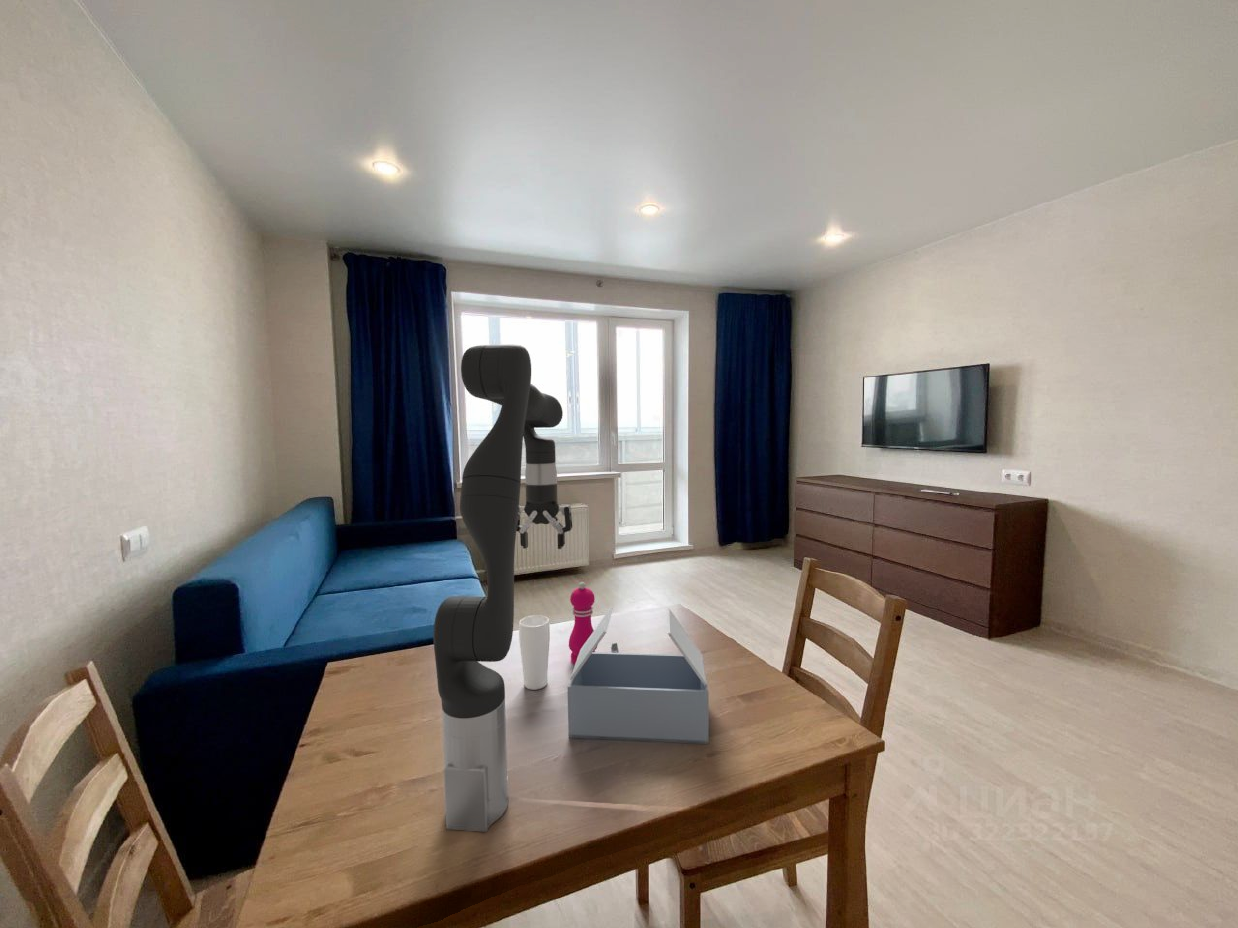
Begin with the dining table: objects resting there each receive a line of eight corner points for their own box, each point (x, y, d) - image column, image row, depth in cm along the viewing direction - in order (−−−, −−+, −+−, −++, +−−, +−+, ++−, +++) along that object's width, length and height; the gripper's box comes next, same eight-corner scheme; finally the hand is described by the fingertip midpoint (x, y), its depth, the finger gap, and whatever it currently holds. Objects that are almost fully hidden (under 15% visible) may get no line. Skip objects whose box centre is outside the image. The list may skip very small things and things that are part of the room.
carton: (708, 744, 89) (708, 691, 88) (568, 737, 91) (567, 686, 90) (702, 700, 103) (702, 655, 102) (580, 696, 105) (580, 651, 104)
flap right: (704, 685, 89) (706, 683, 89) (667, 634, 89) (670, 632, 89) (699, 654, 101) (701, 653, 101) (667, 609, 101) (669, 607, 101)
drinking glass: (553, 677, 113) (552, 615, 112) (546, 693, 106) (545, 627, 105) (525, 676, 114) (523, 614, 113) (516, 692, 107) (514, 626, 106)
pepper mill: (565, 657, 123) (563, 580, 121) (591, 651, 126) (590, 576, 124) (574, 670, 116) (573, 588, 115) (602, 663, 119) (601, 584, 118)
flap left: (606, 632, 90) (604, 630, 90) (572, 680, 91) (569, 678, 91) (612, 608, 102) (610, 606, 102) (582, 650, 103) (580, 649, 103)
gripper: (507, 483, 113) (509, 551, 115) (567, 483, 112) (568, 552, 113) (516, 480, 121) (518, 544, 122) (573, 479, 119) (574, 544, 121)
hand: (542, 548), depth 118 cm, fingers open, 8 cm apart
